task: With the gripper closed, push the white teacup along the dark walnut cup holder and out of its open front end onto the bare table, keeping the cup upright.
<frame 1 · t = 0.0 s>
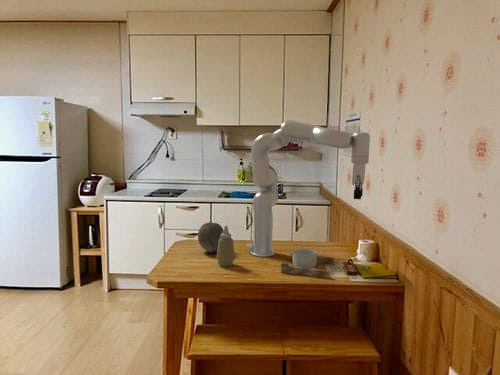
hand: (358, 197, 176), 31 cm above the table, tool pointing down, fingers open, 9 cm apart
teacup: (304, 268, 174), on the table
squeeze bottle: (225, 265, 175), on the table
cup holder: (308, 268, 173), on the table
cantaloupe: (211, 252, 196), on the table
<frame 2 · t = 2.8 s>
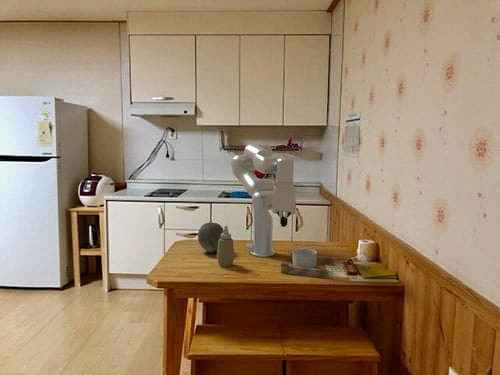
hand: (283, 226, 175), 18 cm above the table, tool pointing down, fingers closed
nothing on the table moved.
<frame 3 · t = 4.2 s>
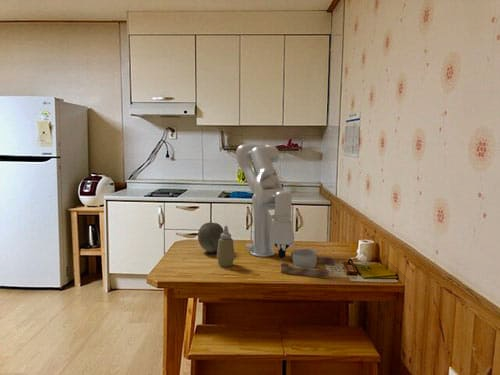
hand: (281, 258, 176), 3 cm above the table, tool pointing down, fingers closed
nothing on the table moved.
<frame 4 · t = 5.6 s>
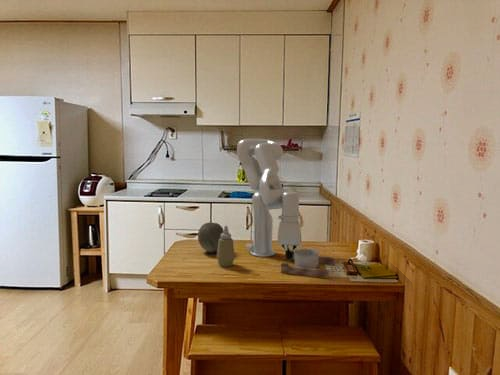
hand: (289, 258, 175), 3 cm above the table, tool pointing down, fingers closed
teacup: (305, 268, 173), on the table, touching gripper
everything else where it was.
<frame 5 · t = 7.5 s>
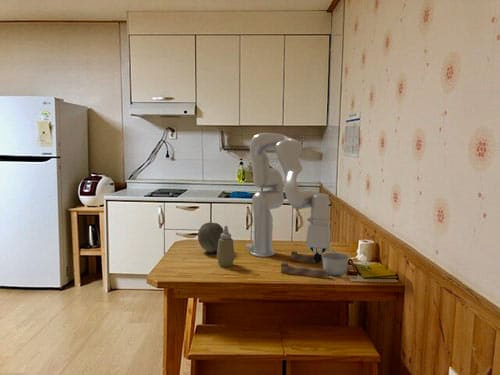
hand: (317, 262, 171), 3 cm above the table, tool pointing down, fingers closed
teacup: (334, 272, 168), on the table, touching gripper
everything else where it was.
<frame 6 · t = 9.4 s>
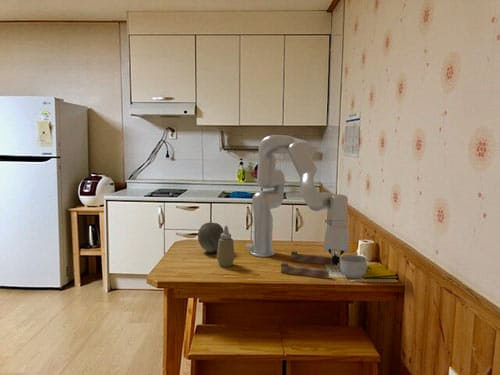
hand: (335, 264, 169), 3 cm above the table, tool pointing down, fingers closed
teacup: (353, 275, 165), on the table, touching gripper
everything else where it was.
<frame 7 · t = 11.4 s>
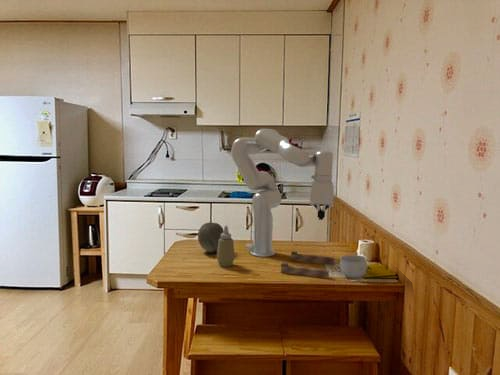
hand: (321, 219, 175), 22 cm above the table, tool pointing down, fingers closed
teacup: (353, 275, 165), on the table
everything else where it was.
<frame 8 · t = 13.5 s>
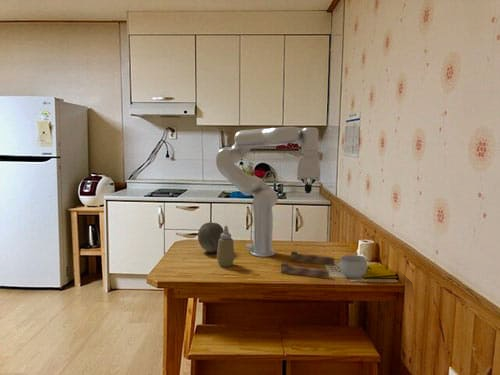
hand: (308, 192, 184), 32 cm above the table, tool pointing down, fingers closed
nothing on the table moved.
at the end: teacup inside the target area (2.1 cm from its centre), on the table; teacup tilted 0°; teacup touching table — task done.
